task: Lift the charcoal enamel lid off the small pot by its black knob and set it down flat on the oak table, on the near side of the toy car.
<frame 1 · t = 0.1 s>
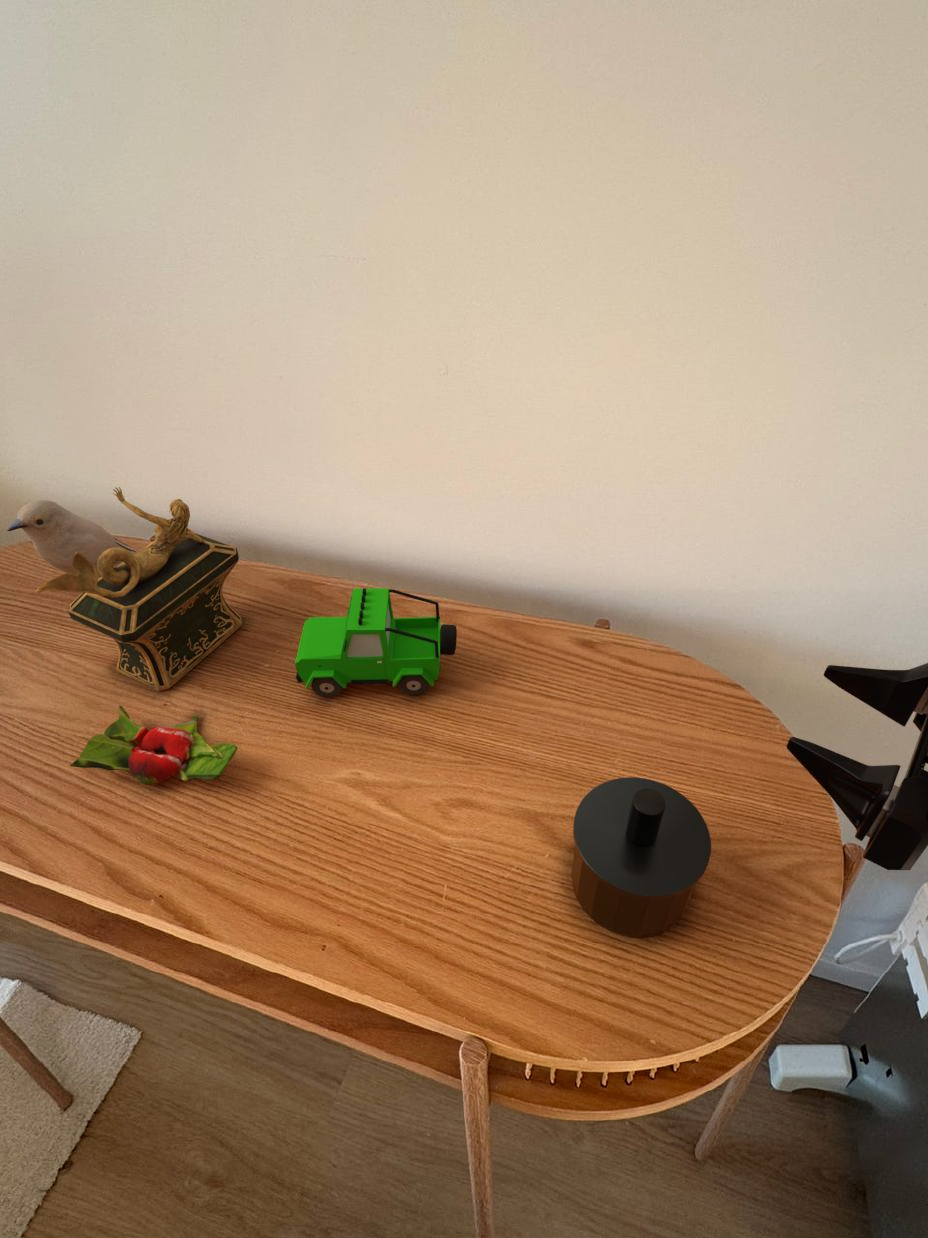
hand: (807, 704, 58), 15 cm above the table, tool horizontal, fingers open, 9 cm apart
lid: (640, 836, 58), point 7 cm above the table, touching pot
decorative box: (171, 655, 85), on the table
toy car: (381, 673, 82), on the table
pot: (629, 881, 62), on the table
decorative ornament: (176, 758, 74), on the table
bird: (103, 593, 94), on the table
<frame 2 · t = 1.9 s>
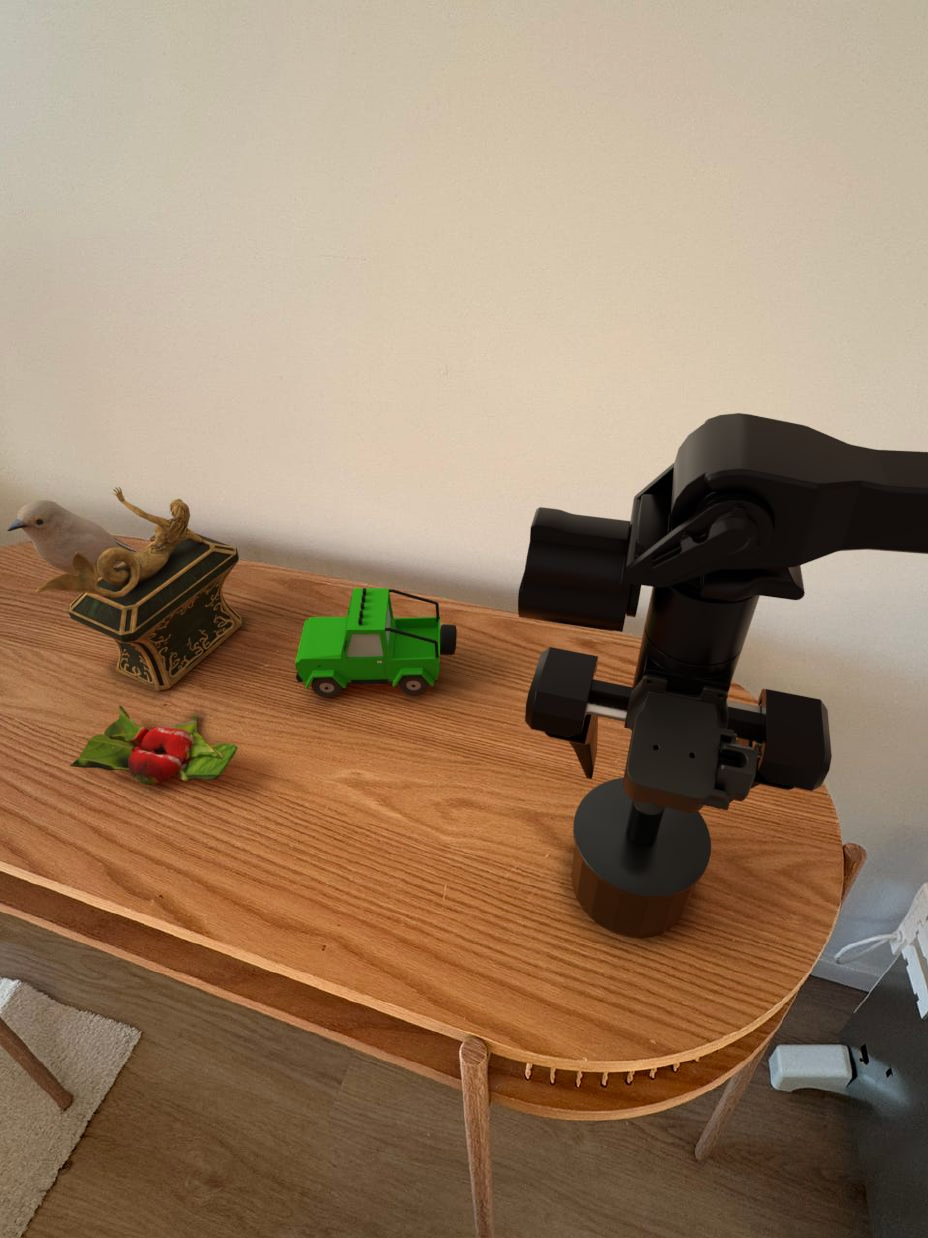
hand: (652, 788, 54), 13 cm above the table, tool pointing down, fingers open, 9 cm apart
nothing on the table moved.
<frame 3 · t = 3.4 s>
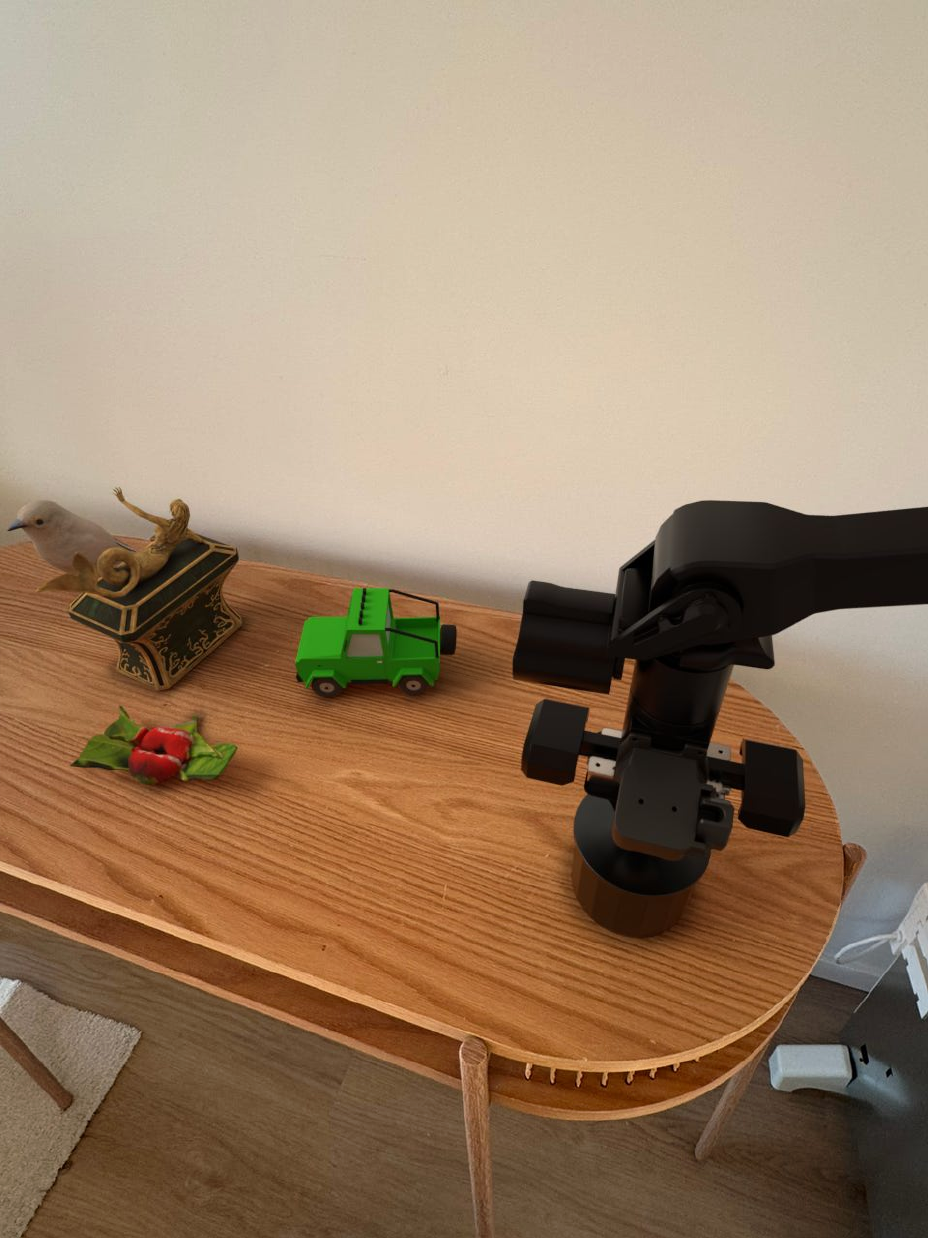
hand: (642, 828, 57), 8 cm above the table, tool pointing down, fingers closed on lid, 2 cm apart
lid: (640, 836, 58), point 7 cm above the table, touching gripper, pot
everything else where it was.
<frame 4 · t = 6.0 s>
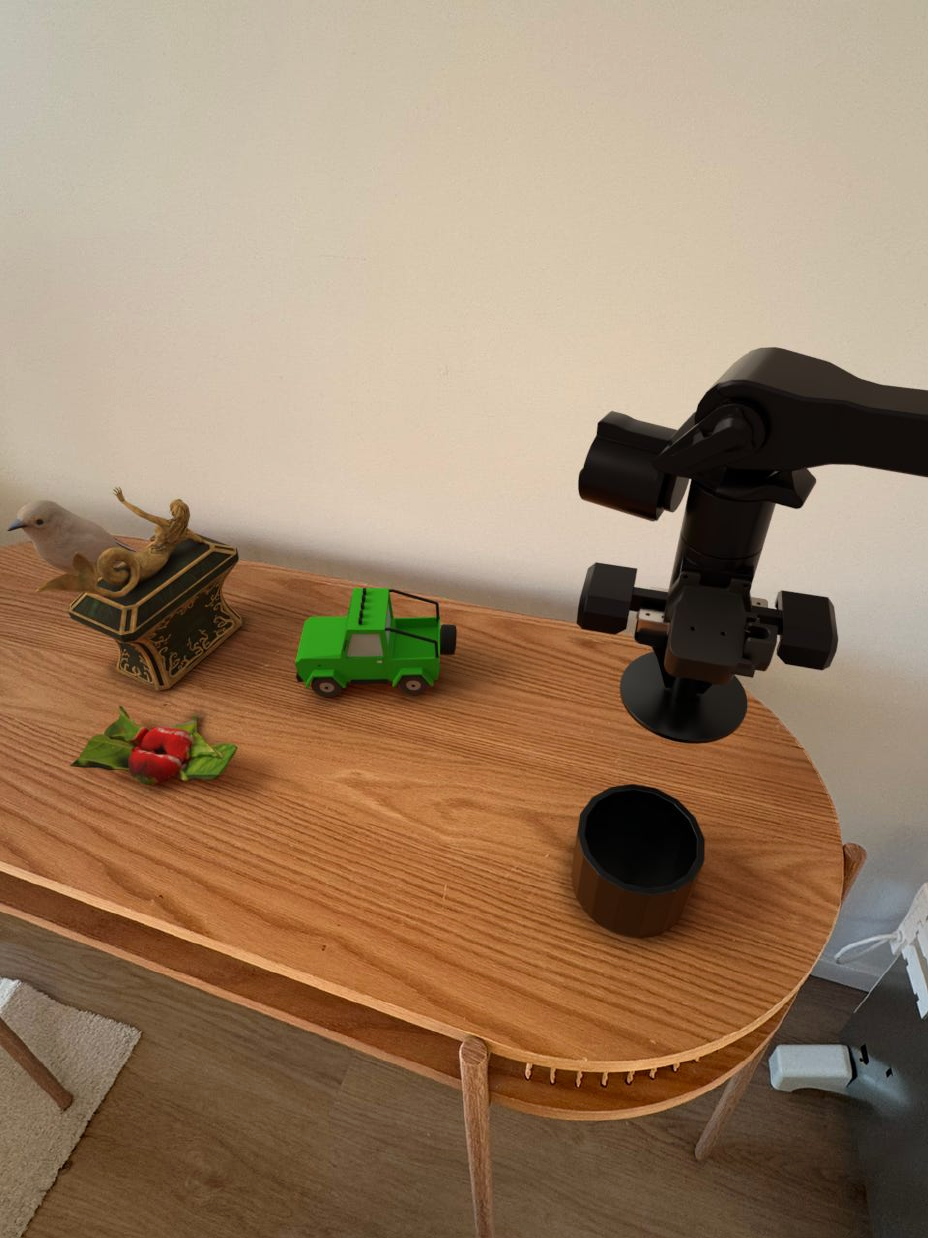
hand: (683, 687, 62), 12 cm above the table, tool pointing down, fingers closed on lid, 2 cm apart
lid: (682, 695, 63), point 11 cm above the table, touching gripper
everything else where it was.
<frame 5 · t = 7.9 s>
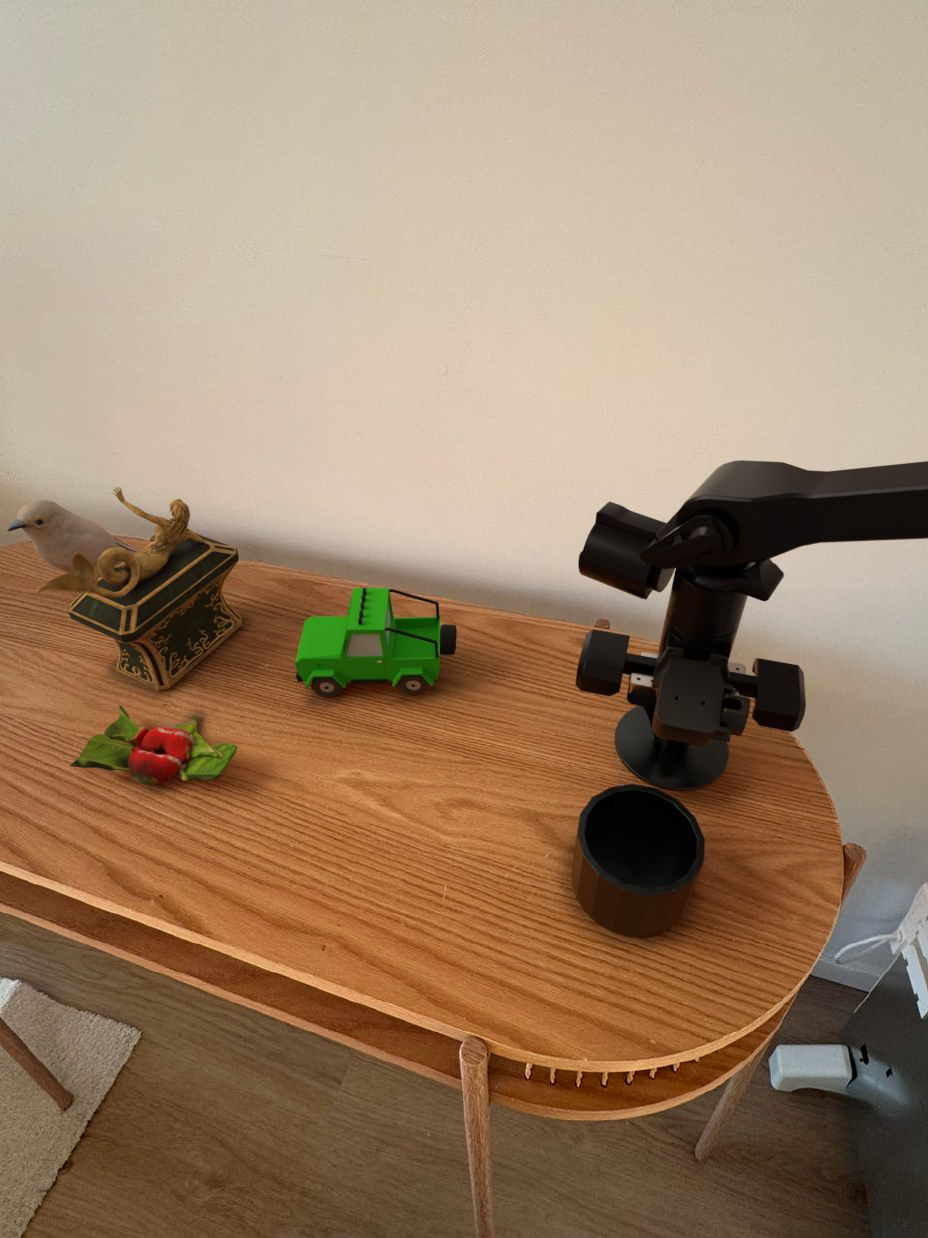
hand: (671, 738, 69), 3 cm above the table, tool pointing down, fingers closed on lid, 2 cm apart
lid: (670, 745, 70), point 2 cm above the table, touching gripper
everything else where it was.
when the fingers open (2 cm above the table, at t = 8.6 s): lid stays where it is, point 1 cm above the table.
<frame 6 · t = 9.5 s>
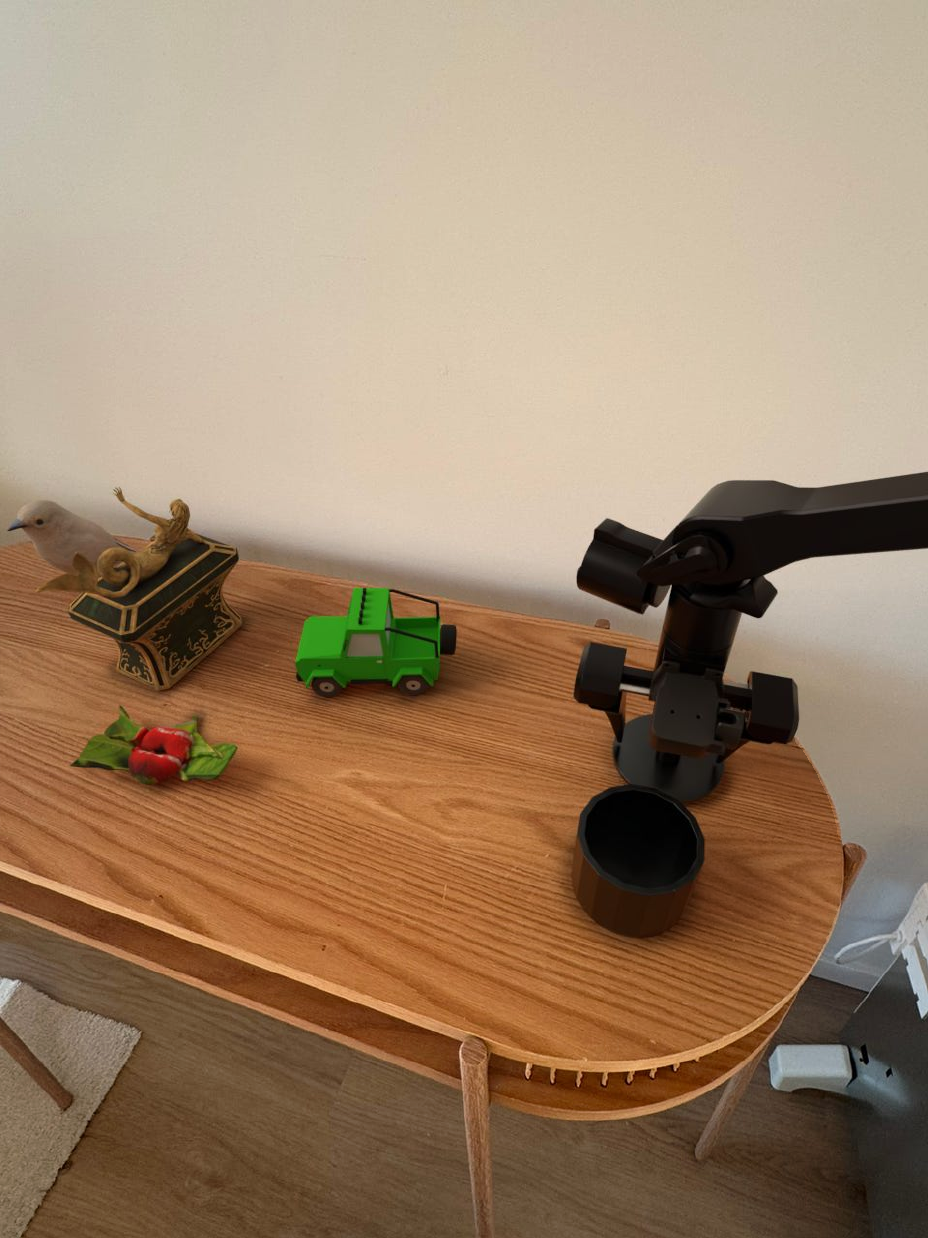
hand: (668, 749, 70), 2 cm above the table, tool pointing down, fingers open, 9 cm apart
lid: (667, 758, 71), point 1 cm above the table
everything else where it was.
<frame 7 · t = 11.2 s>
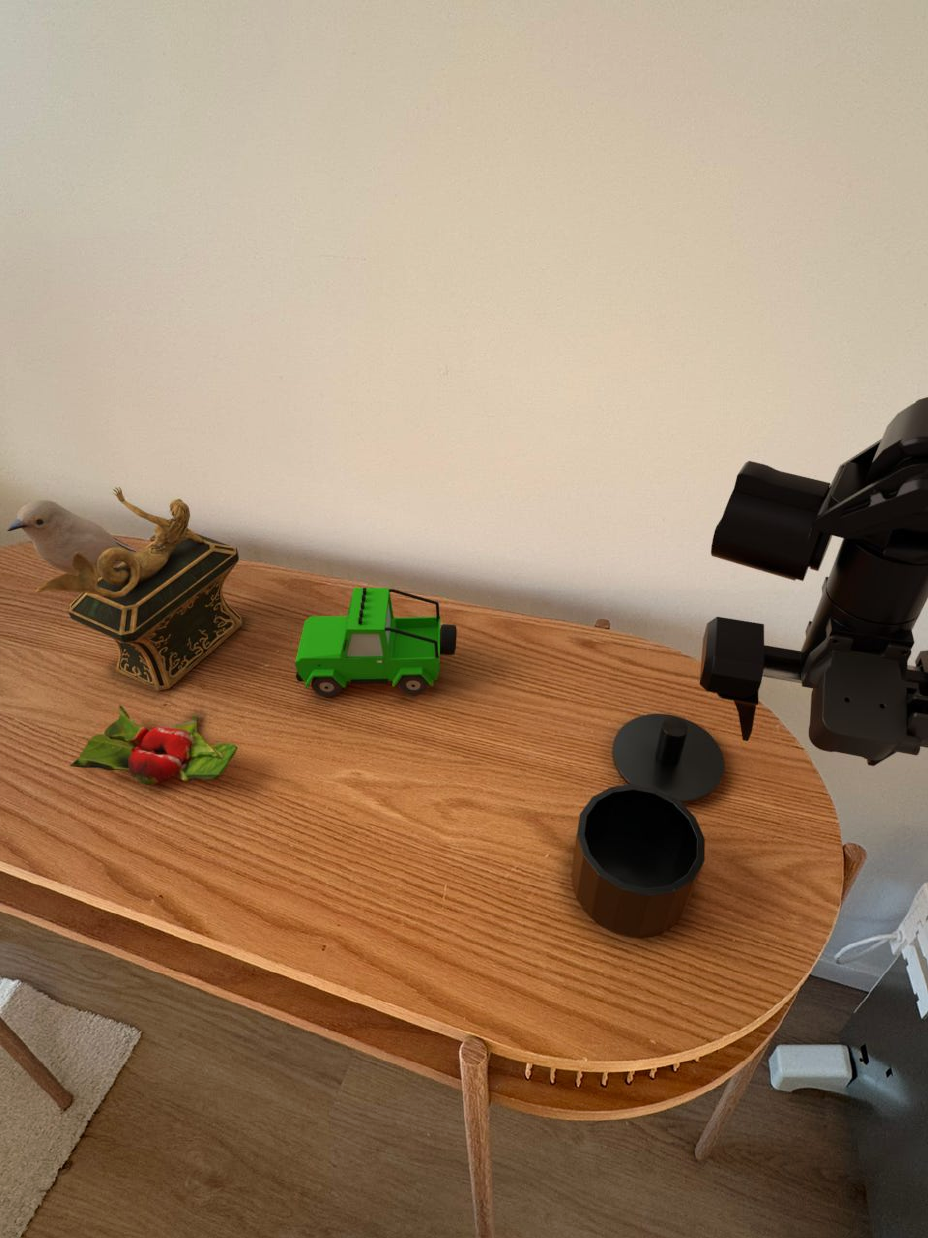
hand: (806, 748, 58), 12 cm above the table, tool pointing down, fingers open, 9 cm apart
nothing on the table moved.
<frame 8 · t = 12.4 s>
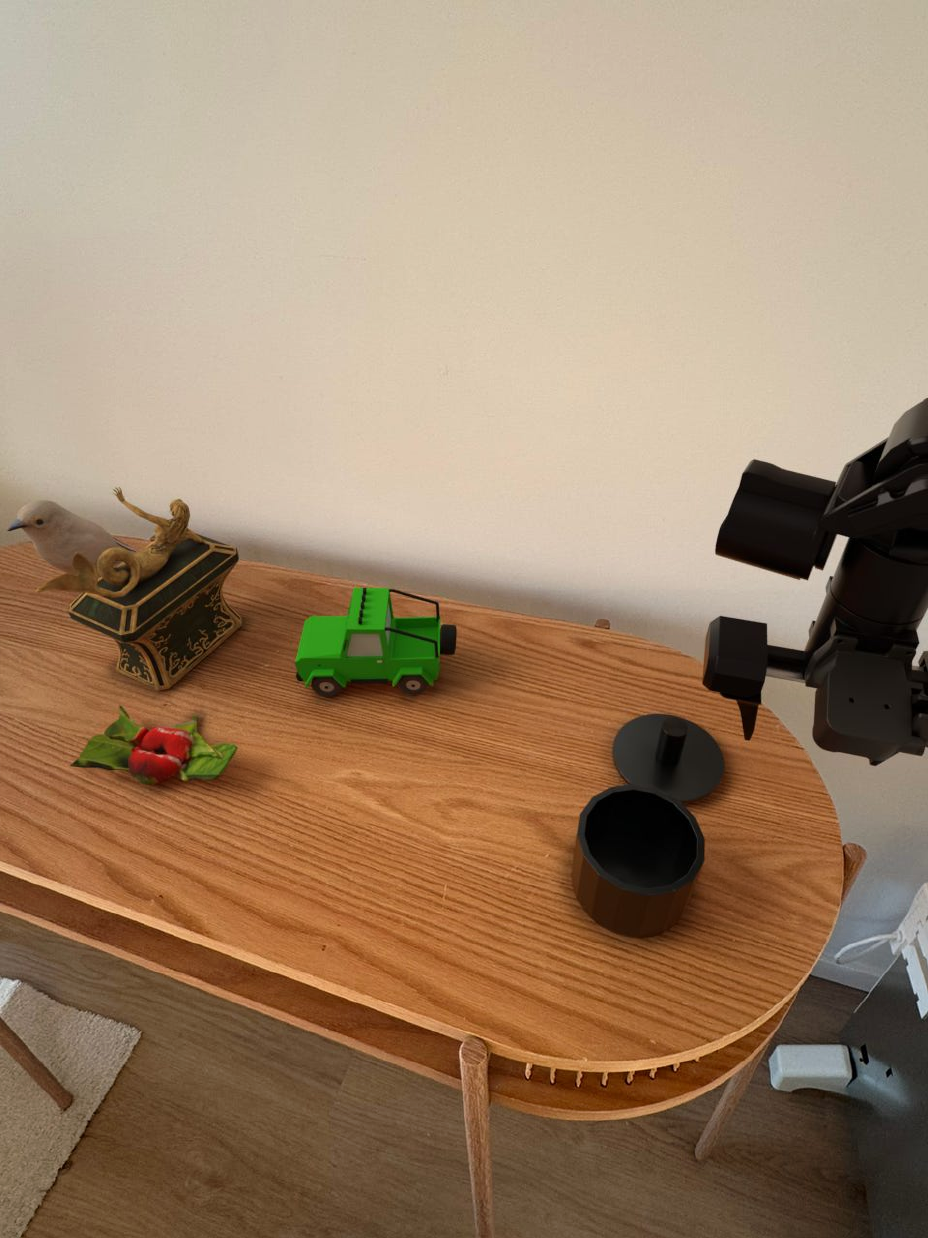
hand: (808, 748, 57), 12 cm above the table, tool pointing down, fingers open, 9 cm apart
nothing on the table moved.
at the end: lid point 0.6 cm above the table; lid tilted 0° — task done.
